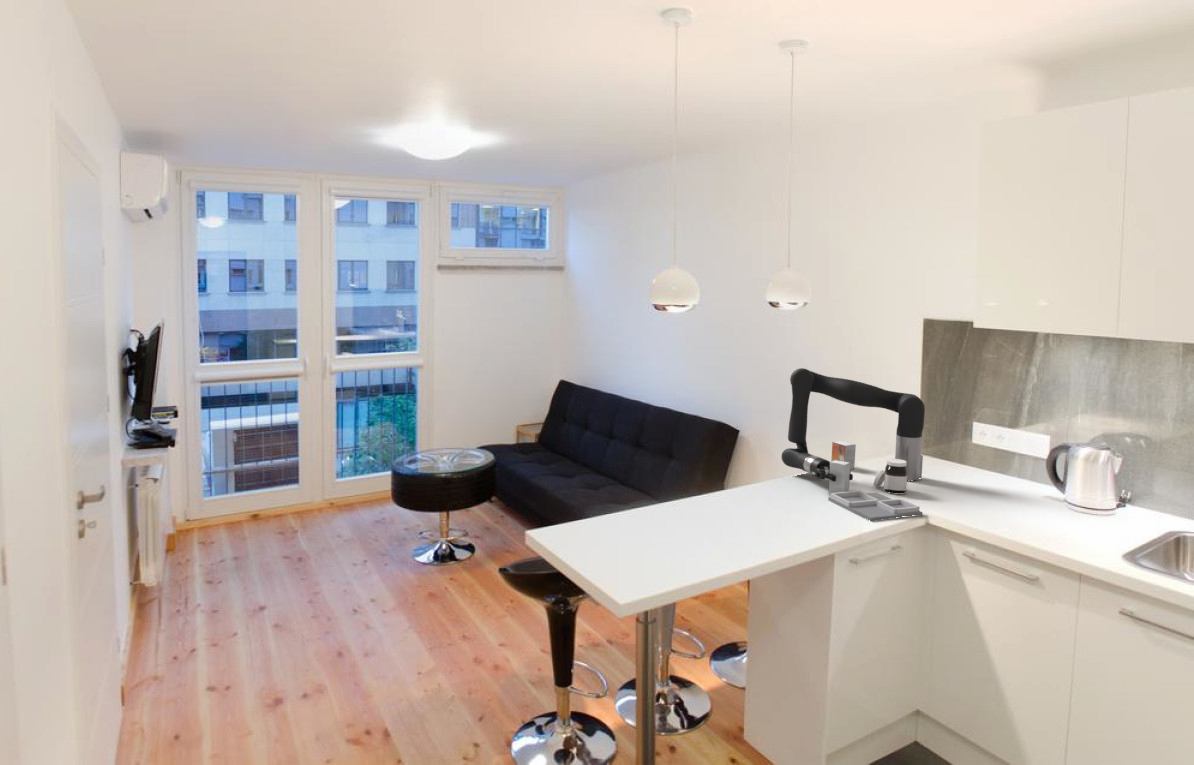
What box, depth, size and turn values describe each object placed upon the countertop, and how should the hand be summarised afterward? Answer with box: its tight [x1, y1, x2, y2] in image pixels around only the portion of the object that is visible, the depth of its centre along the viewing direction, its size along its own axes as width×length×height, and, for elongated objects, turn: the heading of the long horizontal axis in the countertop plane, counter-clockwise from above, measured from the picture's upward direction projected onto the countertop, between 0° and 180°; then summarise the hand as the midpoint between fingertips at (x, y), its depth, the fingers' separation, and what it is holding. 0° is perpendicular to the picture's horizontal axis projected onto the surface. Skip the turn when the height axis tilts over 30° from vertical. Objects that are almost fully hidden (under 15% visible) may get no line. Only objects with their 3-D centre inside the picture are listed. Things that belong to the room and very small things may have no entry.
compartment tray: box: [827, 490, 923, 522], centre depth 254 cm, size 20×24×3 cm
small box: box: [830, 440, 856, 470], centre depth 307 cm, size 8×6×10 cm
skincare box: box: [828, 460, 851, 495], centre depth 269 cm, size 6×4×12 cm
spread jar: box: [873, 458, 908, 494], centre depth 274 cm, size 12×11×12 cm
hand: (843, 478), depth 267 cm, fingers closed on skincare box, 6 cm apart
